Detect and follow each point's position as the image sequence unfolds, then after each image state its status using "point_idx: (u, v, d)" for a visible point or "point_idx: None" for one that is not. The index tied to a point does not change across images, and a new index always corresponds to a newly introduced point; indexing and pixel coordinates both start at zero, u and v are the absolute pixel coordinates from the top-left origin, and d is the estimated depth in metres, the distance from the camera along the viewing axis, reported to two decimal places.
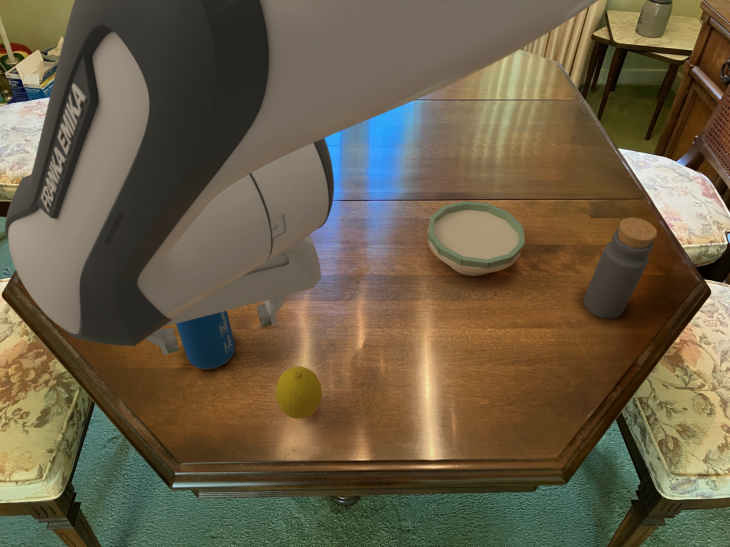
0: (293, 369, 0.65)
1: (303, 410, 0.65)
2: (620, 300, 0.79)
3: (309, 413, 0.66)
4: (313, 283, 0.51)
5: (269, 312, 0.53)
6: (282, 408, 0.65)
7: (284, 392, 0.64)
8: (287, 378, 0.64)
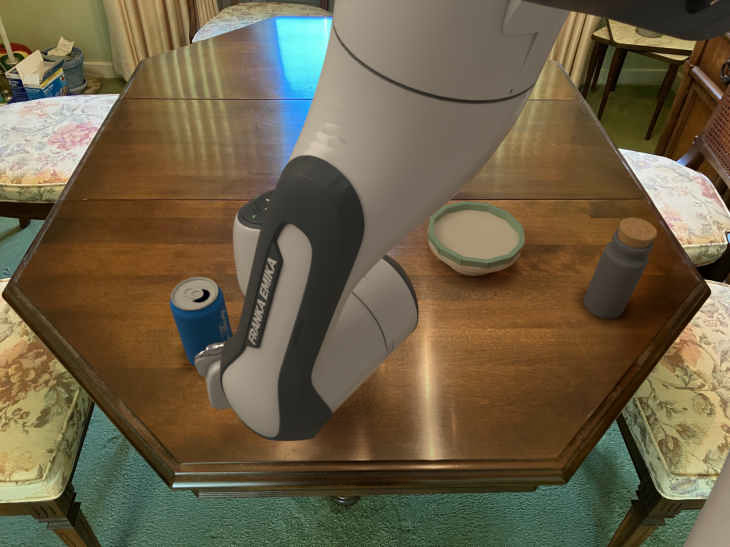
0: None
1: None
2: (620, 300, 0.79)
3: None
4: None
5: None
6: None
7: None
8: None
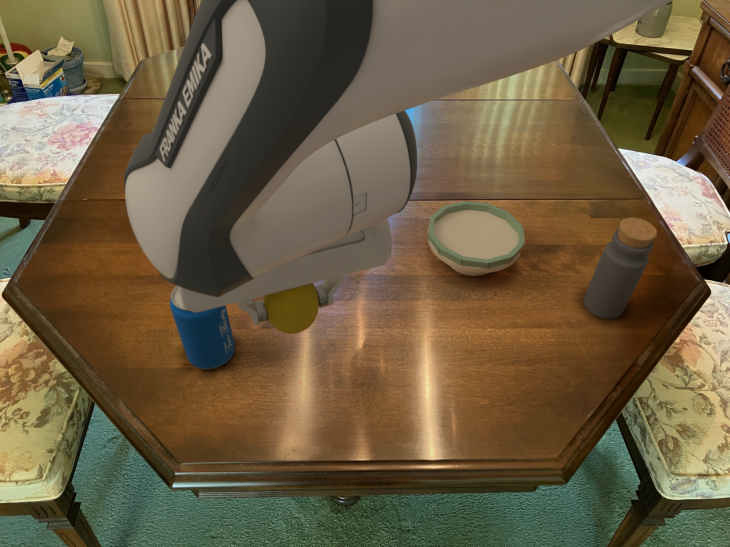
0: None
1: (296, 320, 0.54)
2: (620, 300, 0.79)
3: (304, 325, 0.55)
4: (384, 260, 0.54)
5: (327, 292, 0.56)
6: (271, 318, 0.54)
7: (273, 297, 0.53)
8: None
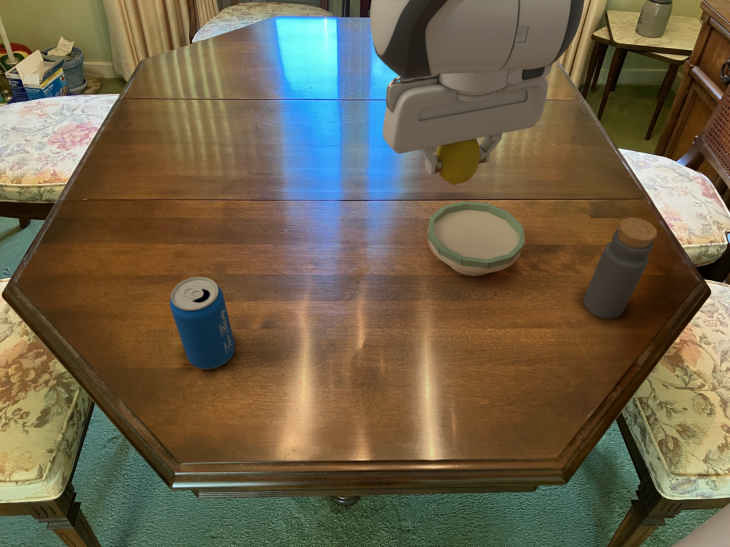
0: None
1: (467, 167, 0.68)
2: (620, 300, 0.79)
3: (470, 174, 0.69)
4: (535, 121, 0.68)
5: (486, 150, 0.70)
6: (445, 168, 0.69)
7: (450, 148, 0.67)
8: None
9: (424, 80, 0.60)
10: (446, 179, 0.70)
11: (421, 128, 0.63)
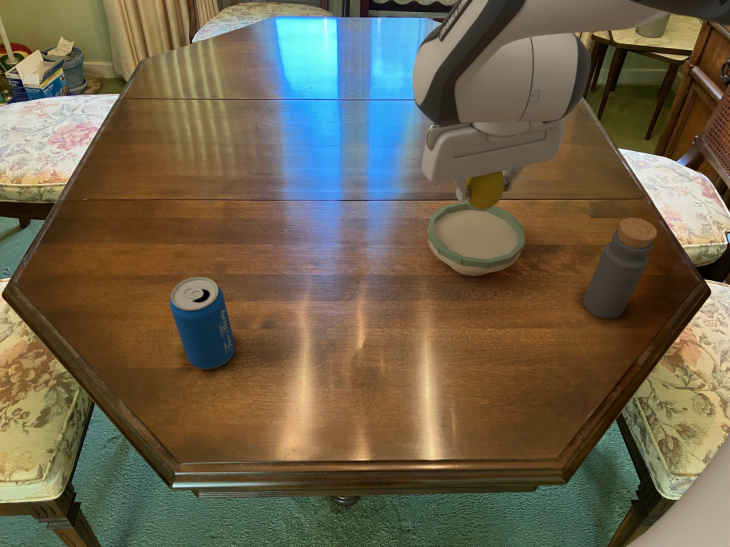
0: None
1: (493, 196, 0.78)
2: (620, 300, 0.79)
3: (495, 201, 0.80)
4: (553, 156, 0.79)
5: (509, 180, 0.80)
6: (474, 195, 0.79)
7: (479, 178, 0.78)
8: None
9: (459, 124, 0.71)
10: (474, 205, 0.81)
11: (455, 164, 0.73)
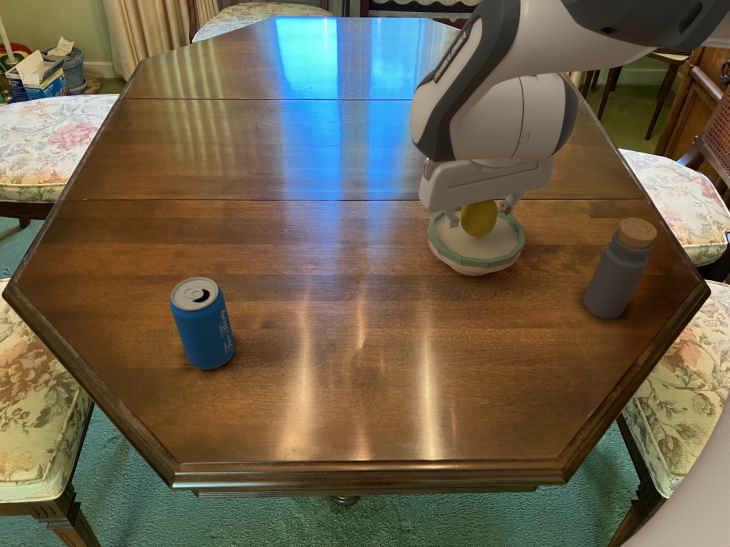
0: None
1: (486, 225, 0.82)
2: (620, 300, 0.79)
3: (489, 229, 0.83)
4: (544, 183, 0.82)
5: (511, 204, 0.84)
6: (468, 225, 0.83)
7: (473, 209, 0.81)
8: None
9: None
10: (469, 233, 0.84)
11: (451, 193, 0.76)
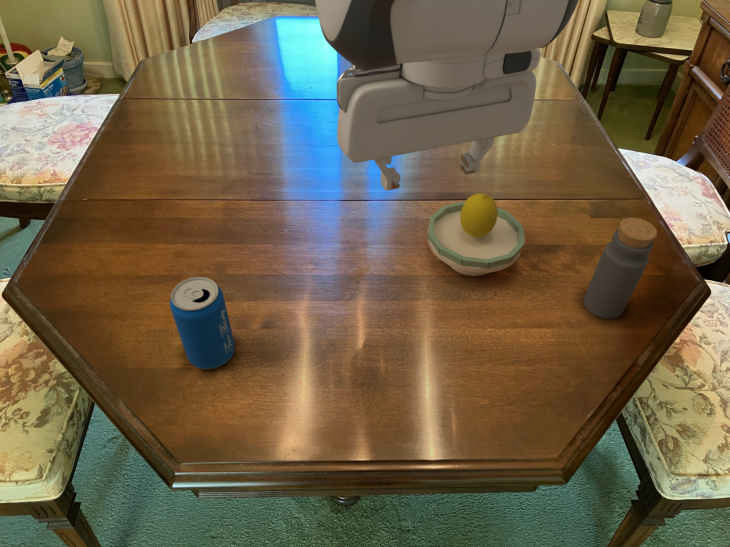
0: (477, 194, 0.83)
1: (486, 225, 0.82)
2: (620, 300, 0.79)
3: (489, 229, 0.83)
4: (522, 126, 0.57)
5: (475, 157, 0.59)
6: (468, 225, 0.83)
7: (473, 209, 0.81)
8: (475, 198, 0.82)
9: (383, 73, 0.49)
10: (469, 233, 0.84)
11: (381, 132, 0.52)
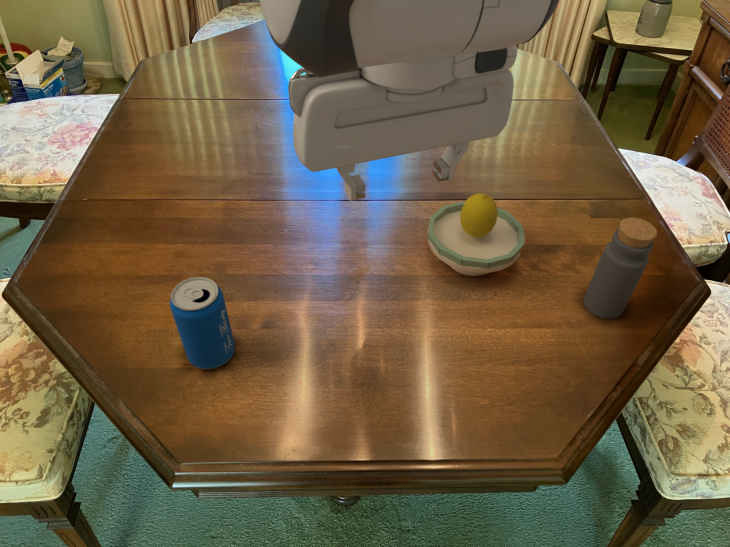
0: (477, 194, 0.83)
1: (486, 225, 0.82)
2: (620, 300, 0.79)
3: (489, 229, 0.83)
4: (500, 129, 0.52)
5: (449, 163, 0.54)
6: (468, 225, 0.83)
7: (473, 209, 0.81)
8: (475, 198, 0.82)
9: (340, 73, 0.44)
10: (469, 233, 0.84)
11: (340, 138, 0.46)
